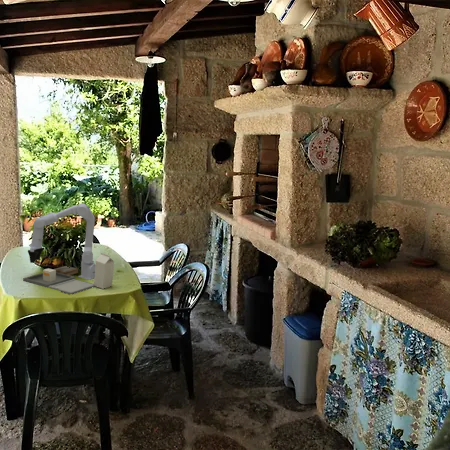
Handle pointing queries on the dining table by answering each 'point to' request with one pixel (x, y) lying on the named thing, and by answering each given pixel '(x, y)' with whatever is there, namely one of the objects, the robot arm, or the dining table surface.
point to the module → (49, 275)
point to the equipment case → (60, 283)
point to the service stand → (66, 270)
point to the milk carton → (103, 271)
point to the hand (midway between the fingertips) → (34, 261)
